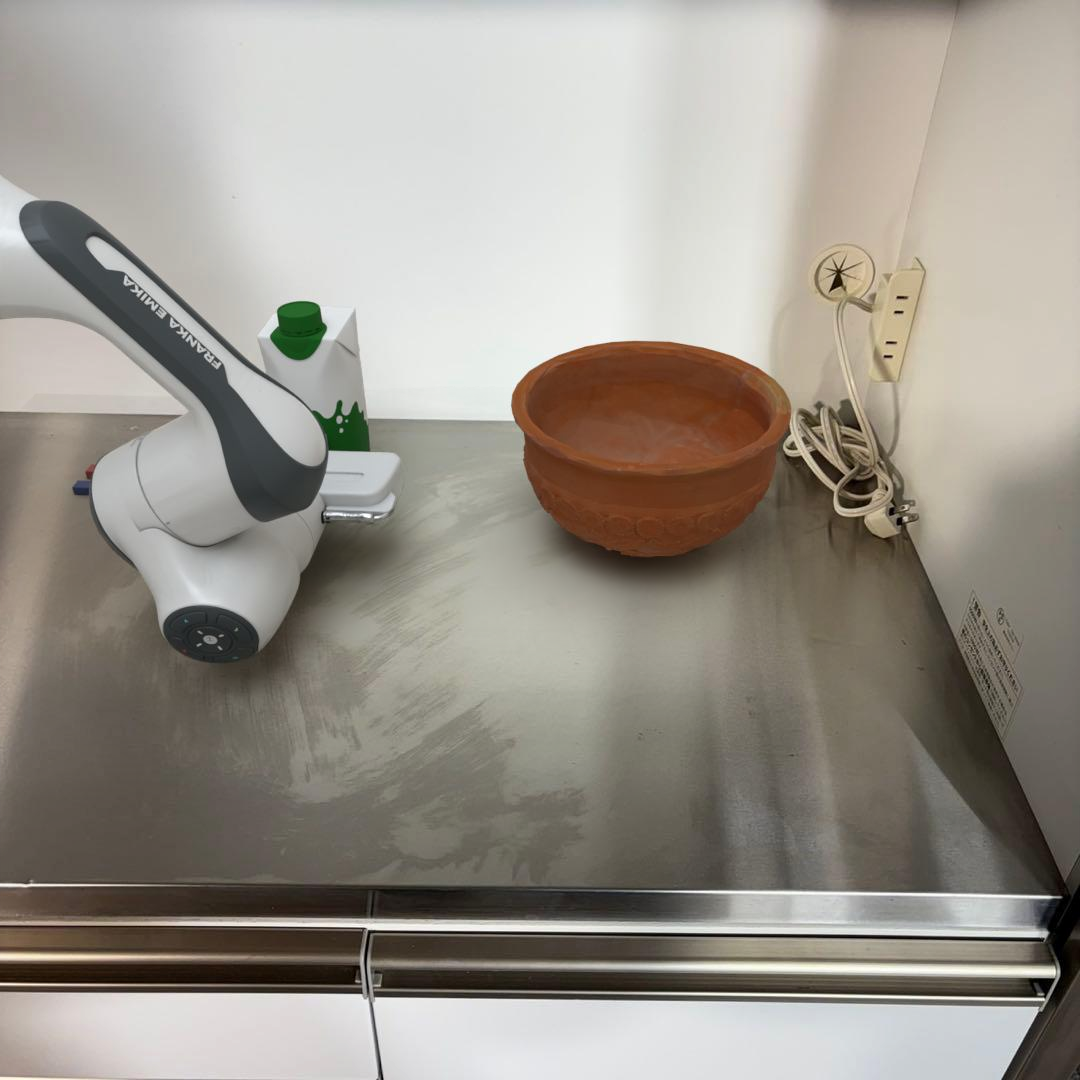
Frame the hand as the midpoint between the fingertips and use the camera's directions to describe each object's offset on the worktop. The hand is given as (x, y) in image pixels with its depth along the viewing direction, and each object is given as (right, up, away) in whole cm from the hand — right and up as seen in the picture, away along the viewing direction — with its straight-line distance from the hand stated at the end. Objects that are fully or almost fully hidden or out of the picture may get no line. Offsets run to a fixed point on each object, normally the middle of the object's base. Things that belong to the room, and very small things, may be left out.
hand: (313, 439), depth 96 cm
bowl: (+32, -9, 0) cm, 34 cm away
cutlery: (-17, -4, +7) cm, 19 cm away
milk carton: (0, -4, +8) cm, 9 cm away
